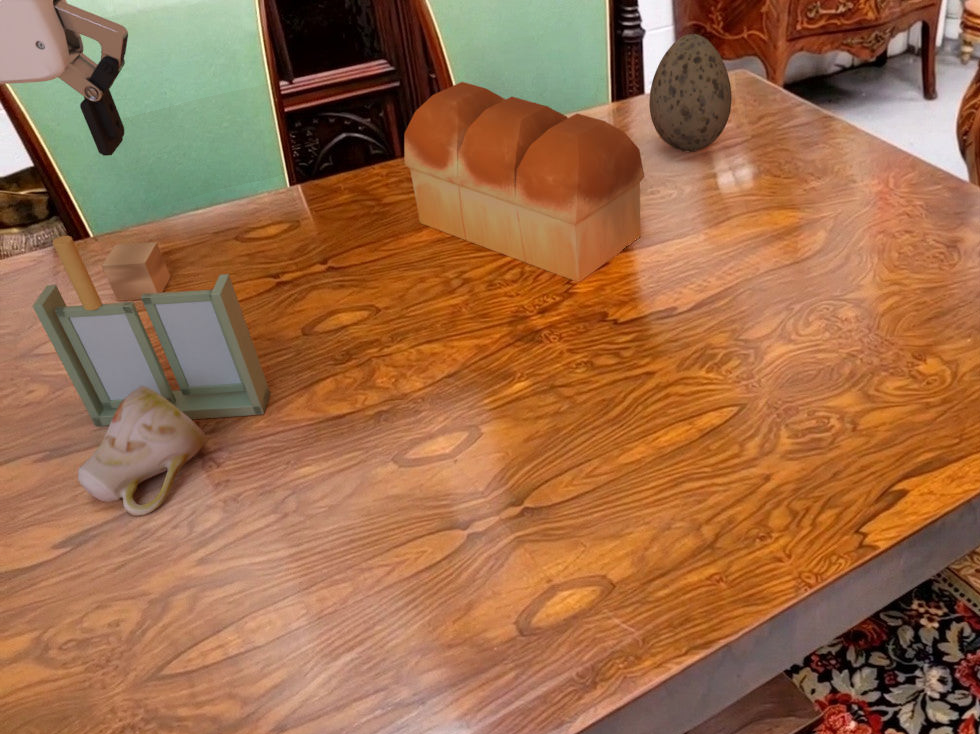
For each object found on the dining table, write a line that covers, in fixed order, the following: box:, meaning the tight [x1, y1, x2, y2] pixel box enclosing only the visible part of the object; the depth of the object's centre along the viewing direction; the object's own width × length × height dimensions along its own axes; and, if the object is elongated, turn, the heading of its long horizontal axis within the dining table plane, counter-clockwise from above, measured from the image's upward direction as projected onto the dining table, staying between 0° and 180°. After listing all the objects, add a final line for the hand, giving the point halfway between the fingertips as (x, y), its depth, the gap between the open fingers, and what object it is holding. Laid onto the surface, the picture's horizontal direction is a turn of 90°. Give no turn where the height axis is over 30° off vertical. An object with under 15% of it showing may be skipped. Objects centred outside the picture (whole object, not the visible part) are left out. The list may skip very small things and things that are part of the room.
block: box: [101, 241, 171, 302], centre depth 101 cm, size 4×4×4 cm
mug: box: [77, 386, 208, 516], centre depth 78 cm, size 8×10×10 cm
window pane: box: [52, 235, 176, 409], centre depth 79 cm, size 6×1×17 cm, turn 96°
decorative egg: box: [648, 33, 733, 153], centre depth 122 cm, size 11×11×15 cm
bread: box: [403, 81, 645, 283], centre depth 106 cm, size 25×12×15 cm, turn 55°
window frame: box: [32, 273, 271, 427], centre depth 82 cm, size 15×3×13 cm, turn 96°
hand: (45, 151), depth 69 cm, fingers open, 9 cm apart
